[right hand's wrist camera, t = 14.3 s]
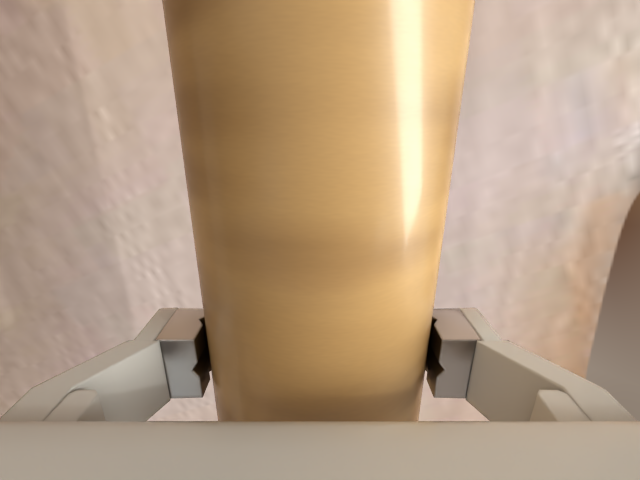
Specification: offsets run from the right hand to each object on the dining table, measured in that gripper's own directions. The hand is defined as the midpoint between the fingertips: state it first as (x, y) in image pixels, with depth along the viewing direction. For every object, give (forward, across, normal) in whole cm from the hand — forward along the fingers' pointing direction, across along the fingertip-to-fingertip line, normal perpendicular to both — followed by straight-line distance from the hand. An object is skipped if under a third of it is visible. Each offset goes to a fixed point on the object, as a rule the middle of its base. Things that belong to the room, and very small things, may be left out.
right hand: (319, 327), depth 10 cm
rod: (+3, 0, +10) cm, 11 cm away
